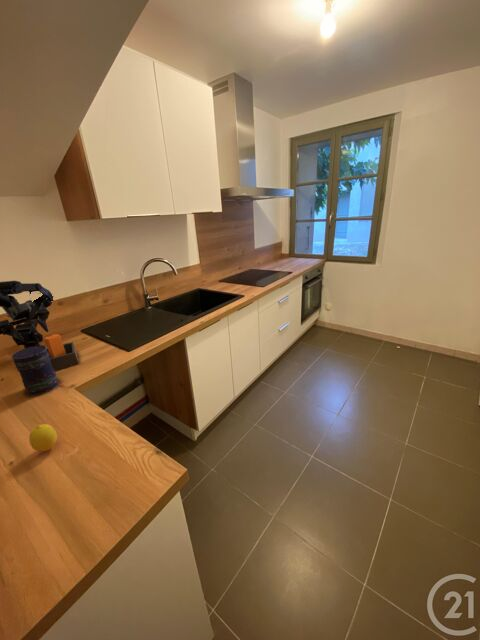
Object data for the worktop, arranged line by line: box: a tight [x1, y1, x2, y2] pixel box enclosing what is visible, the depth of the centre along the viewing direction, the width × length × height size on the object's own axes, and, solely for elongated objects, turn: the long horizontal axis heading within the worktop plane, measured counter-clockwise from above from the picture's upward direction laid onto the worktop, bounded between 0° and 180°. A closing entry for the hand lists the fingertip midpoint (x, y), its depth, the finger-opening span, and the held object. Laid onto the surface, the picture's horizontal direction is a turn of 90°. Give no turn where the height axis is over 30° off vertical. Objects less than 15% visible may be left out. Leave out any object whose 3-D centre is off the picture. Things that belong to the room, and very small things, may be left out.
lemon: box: [28, 423, 58, 452], centre depth 68 cm, size 6×6×8 cm
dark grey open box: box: [46, 341, 80, 372], centre depth 113 cm, size 14×13×6 cm
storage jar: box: [11, 345, 59, 396], centre depth 94 cm, size 10×10×15 cm
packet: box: [43, 333, 66, 358], centre depth 112 cm, size 3×5×12 cm
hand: (36, 335), depth 109 cm, fingers open, 9 cm apart
